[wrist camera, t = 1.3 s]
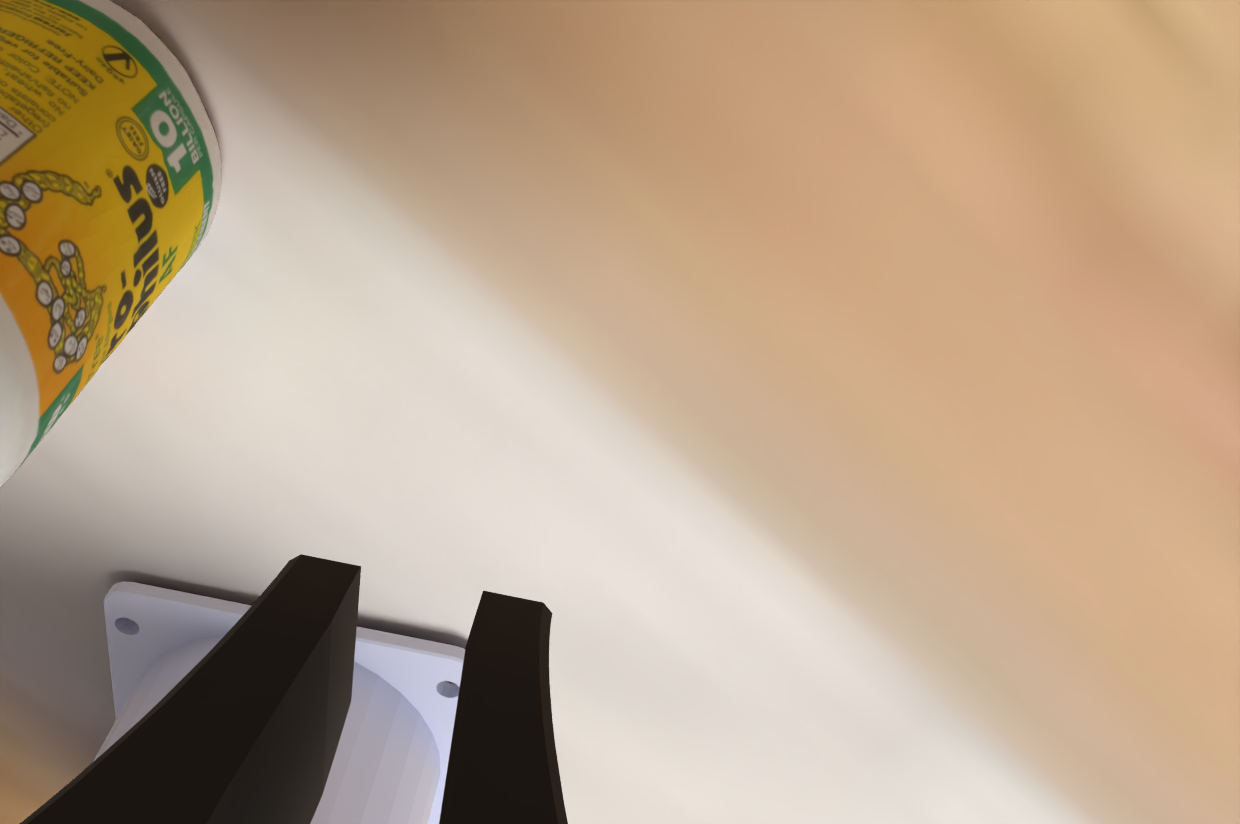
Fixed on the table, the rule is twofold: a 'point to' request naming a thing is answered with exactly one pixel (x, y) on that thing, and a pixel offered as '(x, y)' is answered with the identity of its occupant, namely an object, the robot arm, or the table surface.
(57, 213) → the supplement bottle
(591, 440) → the table surface
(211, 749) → the robot arm
